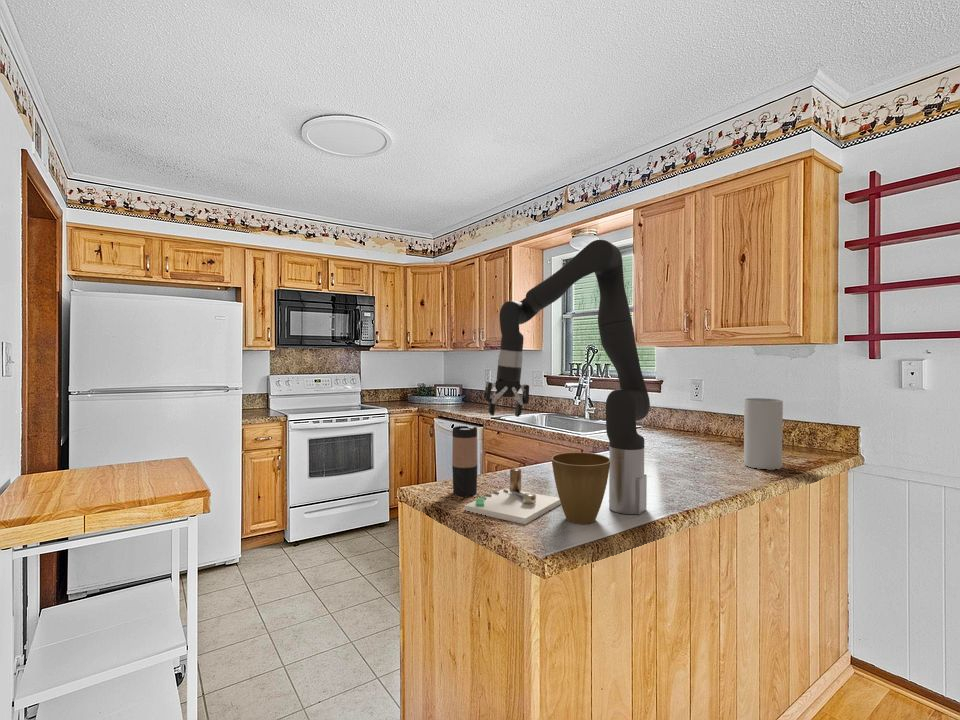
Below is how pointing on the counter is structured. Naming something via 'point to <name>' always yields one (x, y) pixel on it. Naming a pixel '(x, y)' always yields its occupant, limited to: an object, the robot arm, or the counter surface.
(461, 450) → the travel mug
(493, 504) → the square base plate
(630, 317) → the robot arm
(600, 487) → the plant pot
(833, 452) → the counter surface
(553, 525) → the counter surface
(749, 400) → the cylinder vase
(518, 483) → the dial lever
